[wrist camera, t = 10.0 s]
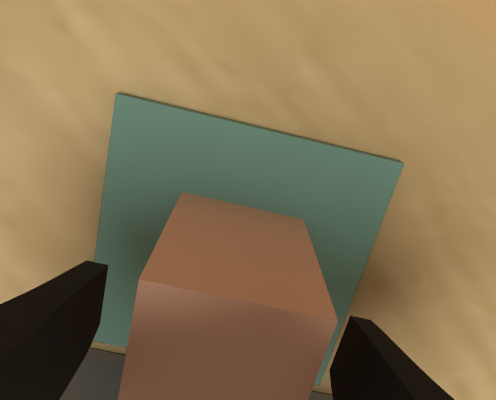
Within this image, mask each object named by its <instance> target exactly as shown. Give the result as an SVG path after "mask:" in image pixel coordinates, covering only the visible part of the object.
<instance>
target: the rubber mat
mask: <svg viewBox="0 0 496 400" xmlns="http://www.w3.org/2000/svg"><path fill="white" fill-rule="evenodd" d="M403 165H404V163H402V162H401V161H399V160H395V159H391V158H386V157H382V156H378V155H374V154H370V153H366V152H362V151H358V150H354V149H349V148H345V147H341V146H337V145H333V144H329V143H325V142H321V141H317V140H313V139H308V138H304V137H300V136H296V135H292V134H288V133H284V132H280V131H276V130H271V129H267V128H263V127H259V126H255V125H251V124H247V123H243V122H239V121H235V120H230V119H226V118H222V117H218V116H214V115H210V114H206V113H202V112H198V111H193V110H189V109H185V108H181V107H177V106H173V105H169V104H165V103H161V102H157V101H152V100H148V99H144V98H140V97H136V96H132V95H128V94H124V93H120V92H119V93H116V96H115V103H114V111H113V119H112V127H111V134H110V142H109V150H108V158H107V165H106V173H105V181H104V189H103V196H102V204H101V212H100V220H99V227H98V235H97V243H96V250H95V258H94V262H96V263H101V264H106V265H108V272H107V279H106V285H105V292H104V299H103V306H102V313H101V320H100V325H99V328H98V330H97V332H96V335H95V337H94V339H93V341H95V342H100V343H105V344H110V345H115V346H120V347H126V348H127V344H128V339H129V333H130V327H131V321H132V316H133V310H134V304H135V298H136V293H137V287H138V281H139V278H140V276H141V274H142V272H143V270H144V268H145V266H146V264H147V262H148V260H149V258H150V256H151V254H152V252H153V250H154V248H155V245H156V243H157V241H158V239H159V237H160V235H161V233H162V231H163V229H164V227H165V225H166V223H167V221H168V219H169V217H170V215H171V213H172V211H173V209H174V207H175V205H176V203H177V201H178V199H179V197H180V195H181V193H182V192H186V193H190V194H194V195H199V196H203V197H208V198H212V199H216V200H221V201H225V202H229V203H234V204H238V205H243V206H247V207H251V208H256V209H260V210H264V211H269V212H273V213H278V214H282V215H286V216H291V217H295V218H300V219H304V221H305V224H306V227H307V230H308V233H309V236H310V239H311V242H312V245H313V248H314V251H315V254H316V257H317V260H318V263H319V266H320V269H321V272H322V275H323V278H324V281H325V284H326V287H327V290H328V293H329V296H330V299H331V302H332V305H333V308H334V311H335V314H336V317H337V320H338V322H337V325H336V328H335V330H334V333H333V335H332V338H331V341H330V343H329V346H328V349H327V351H326V354H325V357H324V359H323V362H322V365H321V367H320V370H319V373H318V375H317V378H316V381H315V383H314V384H315V385H320V383H321V380H322V377H323V375H324V372H325V370H326V367H327V364H328V362H329V359H330V356H331V354H332V351H333V348H334V346H335V343H336V341H337V338H338V335H339V333H340V330H341V327H342V325H343V322H344V320H345V317H346V314H347V312H348V309H349V306H350V304H351V301H352V299H353V296H354V293H355V291H356V288H357V285H358V283H359V280H360V278H361V275H362V272H363V270H364V267H365V264H366V262H367V259H368V257H369V254H370V251H371V249H372V246H373V243H374V241H375V238H376V236H377V233H378V230H379V228H380V225H381V222H382V220H383V217H384V215H385V212H386V209H387V207H388V204H389V201H390V199H391V196H392V194H393V191H394V188H395V186H396V183H397V180H398V178H399V175H400V173H401V170H402V167H403Z"/></svg>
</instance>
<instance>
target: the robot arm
mask: <svg viewBox="0 0 496 400" xmlns="http://www.w3.org/2000/svg"><path fill="white" fill-rule="evenodd" d="M107 272H108V265H106V264H101V263H96V262H91V261H85V262H83V263H81V264H79V265H77V266H76V267H74V268H72V269H70V270H68V271H66V272H65V273H63V274H61V275H59V276H57V277H55V278H54V279H52V280H50V281H48V282H46V283H44V284H42V285H40V286H38V287H36V288H34V289H32V290H30V291H28V292H26V293H24V294H22V295H20V296H17V297H15V298H13V299H11V300H9V301H7V302H5V303H2V304H0V400H60V398H61V396H62V395H63V393H64V391H65V390H66V388H67V387H68V385H69V383H70V382H71V380H72V378H73V377H74V375H75V373H76V372H77V370H78V368H79V367H80V365H81V363H82V362H83V360H84V358H85V356H86V355H87V352H88V350H89V348H90V346H91V344H92V341H93V339H94V337H95V335H96V332H97V330H98V328H99V325H100V320H101V313H102V306H103V299H104V292H105V285H106V279H107ZM330 378H331V388H332V396H333V400H454V399H453V398H452V397H451V396H450V395H449V394H447V393H446V392H445V391H444V390H443V389H442V388H441V387H440V386H439V385H437V384H436V383H435V382H434V381H433V380H432V379H431V378H430V377H429V376H428V375H427V374H426V373H424V372H423V371H422V370H421V369H420V368H419V367H418V366H417V365H416V364H415V363H414V362H413V361H412V360H411V359H410V358H409V357H408V356H407V355H406V354H405V353H404V352H403V351H402V350H401V349H400V348H399V347H398V346H397V345H396V344H395V343H394V342H393V341H392V340H391V339H390V338H389V337H388V336H387V335H386V334H385V333H384V332H383V331H382V330H381V329H380V328H379V327H378V326H376V325H375V324H374V323H373V322H372V321H371V320H368V319H363V318H358V317H353V316H350V318H349V321H348V324H347V326H346V329H345V331H344V334H343V337H342V339H341V342H340V344H339V347H338V350H337V352H336V355H335V357H334V360H333V363H332V365H331V368H330Z"/></svg>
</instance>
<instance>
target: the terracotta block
mask: <svg viewBox="0 0 496 400" xmlns="http://www.w3.org/2000/svg"><path fill="white" fill-rule="evenodd" d="M337 322H338V320H337V317H336V314H335V311H334V308H333V305H332V302H331V299H330V296H329V293H328V290H327V287H326V284H325V281H324V278H323V275H322V272H321V269H320V266H319V263H318V260H317V257H316V254H315V251H314V248H313V245H312V242H311V239H310V236H309V233H308V230H307V227H306V224H305V221H304V219H300V218H295V217H291V216H286V215H282V214H278V213H273V212H269V211H264V210H260V209H256V208H251V207H247V206H243V205H238V204H234V203H229V202H225V201H221V200H216V199H212V198H208V197H203V196H199V195H194V194H190V193H186V192H182V193H181V195H180V197H179V199H178V201H177V203H176V205H175V207H174V209H173V211H172V213H171V215H170V217H169V219H168V221H167V223H166V225H165V227H164V229H163V231H162V233H161V235H160V237H159V239H158V241H157V243H156V245H155V248H154V250H153V252H152V254H151V256H150V258H149V260H148V262H147V264H146V266H145V268H144V270H143V272H142V274H141V276H140V278H139V281H138V287H137V293H136V298H135V304H134V310H133V316H132V321H131V327H130V333H129V339H128V344H127V350H126V356H125V362H124V367H123V373H122V379H121V385H120V390H119V396H118V400H308V399H309V397H310V394H311V391H312V389H313V386H314V383H315V381H316V378H317V375H318V373H319V370H320V367H321V365H322V362H323V359H324V357H325V354H326V351H327V349H328V346H329V343H330V341H331V338H332V335H333V333H334V330H335V328H336V325H337Z"/></svg>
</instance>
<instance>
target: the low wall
mask: <svg viewBox="0 0 496 400" xmlns="http://www.w3.org/2000/svg"><path fill="white" fill-rule="evenodd" d="M125 356H126V355H122V354H117V353H112V352H107V351H102V350H96V349H91V348H89V350H88V352H87V355H86V356H85V358H84V360H83V362H82V363H81V365H80V367H79V368H78V370H77V372H76V373H75V375H74V377H73V378H72V380H71V382H70V383H69V385H68V387H67V388H66V390H65V391H64V393H63V395H62V396H61V398H60V400H118V396H119V390H120V385H121V379H122V373H123V367H124V362H125ZM308 400H333V396H332V395H328V394H323V393H318V392H313V391H311V394H310V397H309V399H308Z"/></svg>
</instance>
